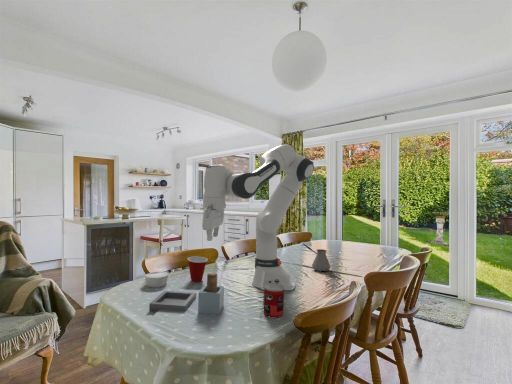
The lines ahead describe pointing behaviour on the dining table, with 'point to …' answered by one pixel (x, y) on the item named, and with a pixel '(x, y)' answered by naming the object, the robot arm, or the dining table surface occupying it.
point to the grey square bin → (211, 300)
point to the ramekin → (156, 279)
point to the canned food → (273, 300)
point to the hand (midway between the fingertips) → (212, 238)
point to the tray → (172, 301)
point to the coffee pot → (320, 260)
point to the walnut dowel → (212, 282)
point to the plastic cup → (197, 268)
